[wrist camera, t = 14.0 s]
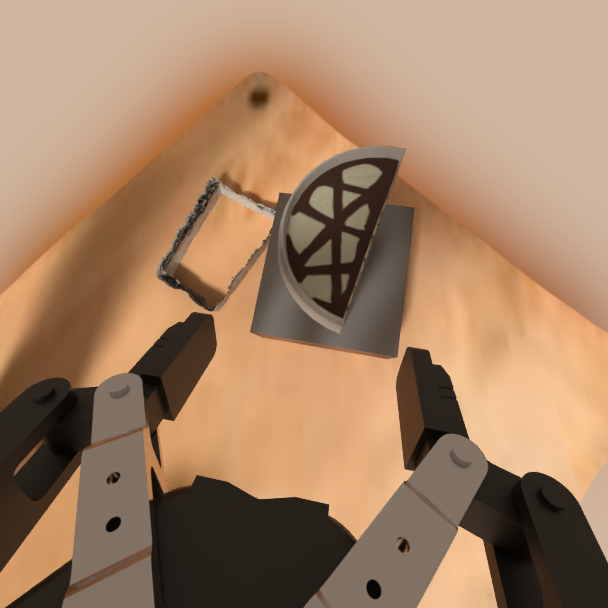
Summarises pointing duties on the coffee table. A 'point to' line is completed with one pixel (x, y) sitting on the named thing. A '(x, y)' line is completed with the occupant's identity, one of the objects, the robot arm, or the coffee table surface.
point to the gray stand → (366, 302)
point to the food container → (335, 229)
